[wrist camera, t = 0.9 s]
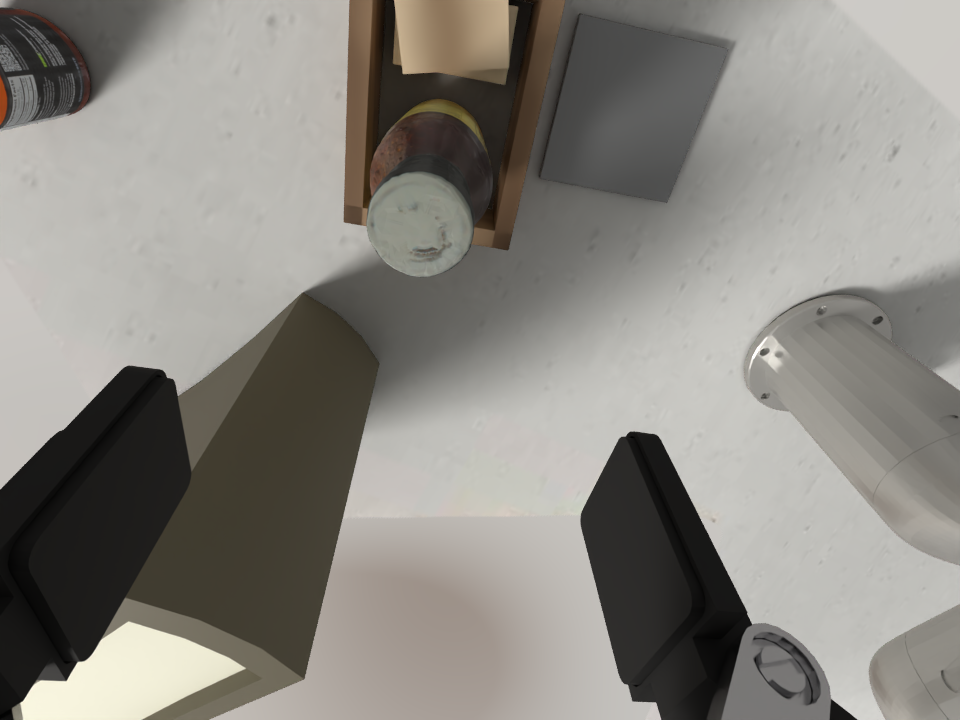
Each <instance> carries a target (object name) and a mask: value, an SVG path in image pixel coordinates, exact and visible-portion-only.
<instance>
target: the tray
mask: <svg viewBox="0 0 960 720" xmlns="http://www.w3.org/2000/svg"><path fill="white" fill-rule="evenodd" d="M521 1H525V2H529V3H533V5H532V10H531V15H530V20H529V25H528V30H527V35H526V40H525V45H524V50H523V55H522V60H521V65H520V70H519V75H518V80H517V85H516V90H515V95H514V100H513V106H512V111H511V116H510V121H509V126H508V131H507V136H506V141H505V146H504V151H503V156H502V161H501V166H500V171H499V176H498V181H497V186H496V191H495V196H494V201H493V206H492V209H488V208H487V209H486V211H485V213H484V214H483V216H482V217H481V219H480V220H479V221H478V222H477V223H476V224H475V225H474V236H473V240H472V243H471V244H474V245H480V246H486V247H491V248H497V249H503V250H508V249H509V245H510V241H511V236H512V232H513V228H514V223H515V219H516V215H517V210H518V206H519V201H520V197H521V193H522V188H523V184H524V180H525V175H526V171H527V166H528V162H529V158H530V153H531V149H532V145H533V140H534V136H535V131H536V127H537V123H538V118H539V114H540V110H541V105H542V101H543V96H544V92H545V88H546V83H547V79H548V75H549V70H550V66H551V62H552V57H553V53H554V48H555V44H556V40H557V35H558V31H559V27H560V22H561V18H562V13H563V9H564V5H565V0H521ZM385 7H386V0H350V4H349V41H348V79H347V117H346V154H345V192H344V222H345V223H351V224H357V225H363V226H367V225H366V220H367V211H368V206H369V203H370V200H371V198H372V195H371V188H370V168H371V163H372V160H373V156H374V154H375V152H376V150H377V140H378V123H379V106H380V90H381V73H382V57H383V40H384V24H385Z"/></svg>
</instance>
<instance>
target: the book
mask: <svg viewBox="0 0 960 720" xmlns="http://www.w3.org/2000/svg"><path fill="white" fill-rule="evenodd" d="M378 367H379V362H378V361H377V359H376V358H375V356H374V355H373V353H372V352H371V350H370V349H369V347H368V346H367V344H366V342H365V341H364V339H363V338H362V337H361V336H360V335H359V334H358V333H357V332H356V331H355V330H354V329H353V328H352V327H351V326H350V325H349V324H348V323H347V322H346V321H344V320H343V319H342V318H341V317H340V316H339V315H338V314H337V313H336V312H334V311H332V310H331V309H329V308H328V307H326V306H324V305H323V304H321V303H319V302H318V301H316V300H314V299H313V298H311V297H309V296H308V295H306V294H304V293H302V294H300V295H299V296H298V297H297V298H296V299H295V300H294V301H293V302H292V303H291V304H290V305H289V306H287V307H286V308H285V309H284V310H283V311H282V312H281V313H280V314H279V315H278V316H277V317H276V318H275V319H273V320H272V321H271V322H270V323H269V324H268V325H267V326H266V327H265V328H264V329H263V330H262V331H261V332H259V333H258V334H257V335H256V336H255V337H254V338H253V339H252V340H251V341H249V342H248V343H247V344H246V345H245V346H243V347H242V348H241V349H240V350H239V351H237V352H236V353H235V354H234V355H232V356H231V357H230V358H229V359H228V360H226V361H225V362H224V363H223V364H221V365H220V366H219V367H218V368H217V369H215V370H214V371H213V372H212V373H210V374H209V375H208V376H207V377H206V378H204V379H203V380H202V381H201V382H199V383H198V384H196V385H195V386H193V387H192V388H190V389H189V390H187V391H186V392H184V393H183V394H181V395H180V396H178V401H179V407H180V412H181V417H182V423H183V428H184V434H185V439H186V444H187V450H188V455H189V460H190V466H191V473H192V474H191V480H190V484H189V487H188V489H187V491H186V492H185V494H184V496H183V498H182V499H181V501H180V503H179V505H178V506H177V508H176V510H175V512H174V513H173V515H172V517H171V519H170V520H169V522H168V524H167V526H166V527H165V529H164V531H163V533H162V534H161V536H160V538H159V540H158V541H157V543H156V545H155V546H154V548H153V550H152V552H151V553H150V555H149V557H148V559H147V560H146V562H145V564H144V566H143V567H142V569H141V571H140V573H139V574H138V576H137V578H136V580H135V581H134V583H133V585H132V587H131V588H130V590H129V592H128V594H127V595H126V597H125V599H124V601H123V602H122V604H121V606H120V607H119V609H118V611H117V613H116V614H115V616H114V618H113V620H112V621H111V623H110V625H109V627H108V628H107V630H106V632H105V634H104V635H103V637H102V639H101V641H100V642H99V644H98V646H97V648H96V649H95V651H94V652H93V654H92V655H91V656H90V657H89V658H88V659H87V660H86V661H84V662H78V663H77V664H76V666H75V668H74V669H73V671H72V673H71V674H70V676H69V678H68V680H67V681H43V680H36V682H35V683H34V685H33V686H32V688H31V690H30V691H29V693H28V694H27V696H26V697H25V699H24V701H23V702H21V703H20V704H21V710H22V716H23V720H209V719H211V718H214V717H216V716H218V715H221V714H223V713H225V712H228V711H230V710H233V709H235V708H238V707H240V706H242V705H245V704H247V703H249V702H252V701H254V700H256V699H259V698H261V697H263V696H266V695H268V694H271V693H273V692H275V691H278V690H280V689H282V688H285V687H287V686H290V685H292V684H294V683H297V682H299V681H301V680H304V678H305V674H306V670H307V665H308V661H309V657H310V653H311V649H312V644H313V640H314V636H315V632H316V628H317V624H318V619H319V615H320V611H321V606H322V603H323V598H324V594H325V590H326V586H327V582H328V577H329V573H330V569H331V565H332V561H333V556H334V552H335V548H336V544H337V540H338V535H339V531H340V527H341V522H342V519H343V514H344V510H345V506H346V502H347V498H348V493H349V489H350V485H351V481H352V477H353V472H354V468H355V464H356V460H357V456H358V451H359V447H360V443H361V439H362V435H363V430H364V426H365V422H366V418H367V414H368V409H369V405H370V401H371V397H372V393H373V388H374V384H375V380H376V376H377V372H378Z"/></svg>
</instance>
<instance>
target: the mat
mask: <svg viewBox="0 0 960 720" xmlns="http://www.w3.org/2000/svg"><path fill="white" fill-rule="evenodd" d="M727 52H728V49H727V48H723V47H718V46H714V45H710V44H706V43H702V42H697V41H693V40H689V39H685V38H680V37H676V36H672V35H668V34H664V33H659V32H655V31H651V30H647V29H642V28H638V27H634V26H630V25H625V24H621V23H617V22H613V21H609V20H604V19H600V18H596V17H592V16H587V15H583V14H579V15H578V20H577V24H576V28H575V32H574V36H573V40H572V44H571V48H570V52H569V56H568V60H567V65H566V69H565V73H564V77H563V81H562V85H561V89H560V93H559V97H558V101H557V105H556V110H555V114H554V118H553V122H552V126H551V130H550V134H549V138H548V142H547V146H546V150H545V155H544V159H543V163H542V167H541V171H540V175H539V177H540V179H545V180H550V181H556V182H561V183H566V184H571V185H577V186H582V187H587V188H592V189H598V190H603V191H608V192H613V193H618V194H624V195H629V196H634V197H639V198H645V199H650V200H655V201H660V202H666V203H667V202H668V199H669V197H670V194H671V192H672V189H673V187H674V184H675V182H676V179H677V177H678V174H679V172H680V169H681V167H682V164H683V162H684V159H685V157H686V154H687V152H688V149H689V147H690V144H691V142H692V139H693V137H694V134H695V132H696V129H697V127H698V124H699V122H700V119H701V117H702V114H703V112H704V109H705V107H706V104H707V102H708V99H709V97H710V94H711V92H712V89H713V87H714V84H715V82H716V79H717V77H718V74H719V72H720V69H721V67H722V64H723V62H724V59H725V57H726V54H727Z"/></svg>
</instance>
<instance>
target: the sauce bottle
mask: <svg viewBox="0 0 960 720" xmlns="http://www.w3.org/2000/svg"><path fill="white" fill-rule="evenodd" d="M370 188H371V195H372V198H371V200H370V203H369V206H368V211H367V220H366V225H367V232H368V236H369V239H370V242H371V244H372V246H373V247H374V248H375V250H376V252H377V254H378V255H379V256H380V257H381V258H382V259H383V260H384V261H385V263H386V264H388V265H389V266H391V267H392V268H394V269H395V270H396V271H400V272H402V273H404V274H406V275H411V276H417V277H430V276H434V275H437V274H440V273H443V272H445V271H447V270H449V269H452V268H453V267H454V266H455V265H457V264H458V263H459V262H460V261H461V260H462V259H463V257H464V256H465V255H466V253H467V252H468V250H469V248H470V246H471V243H472V240H473V236H474V225H475V224H476V223H477V222H478V221H479V220H480V219H481V217H482V216H483V214H484V213H485V211H486V209H487V207H488V205H489V202H490V199H491V195H492V188H493V176H492V168H491V163H490V160H489V156H488V152H487V148H486V145H485V142H484V138H483V135H482V132H481V129H480V127H479V125H478V123H477V122H476V120H475V118H474V117H473V116H472V115H471V114H470V113H469V112H468V111H467V110H466V109H464V108H463V107H461V106H460V105H458V104H456V103H454V102H451V101H449V100H443V99H432V100H427V101H424V102H422V103H420V104H418V105H416V106H414V107H413V108H412V109H410V110H409V111H408V112H407V113H406V114H405V115H404V116H403V117H402V118H401V119H400V120H399V121H398V122H397V123H395V124H394V125H393V126H392V127H391V129H390V130H389V131H388V132H387V133H386V135H385V136H384V138H383V139H382V141H381V143H380V145H379V146H378V147H377V150H376V152H375V154H374V156H373V160H372V163H371V168H370Z"/></svg>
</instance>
